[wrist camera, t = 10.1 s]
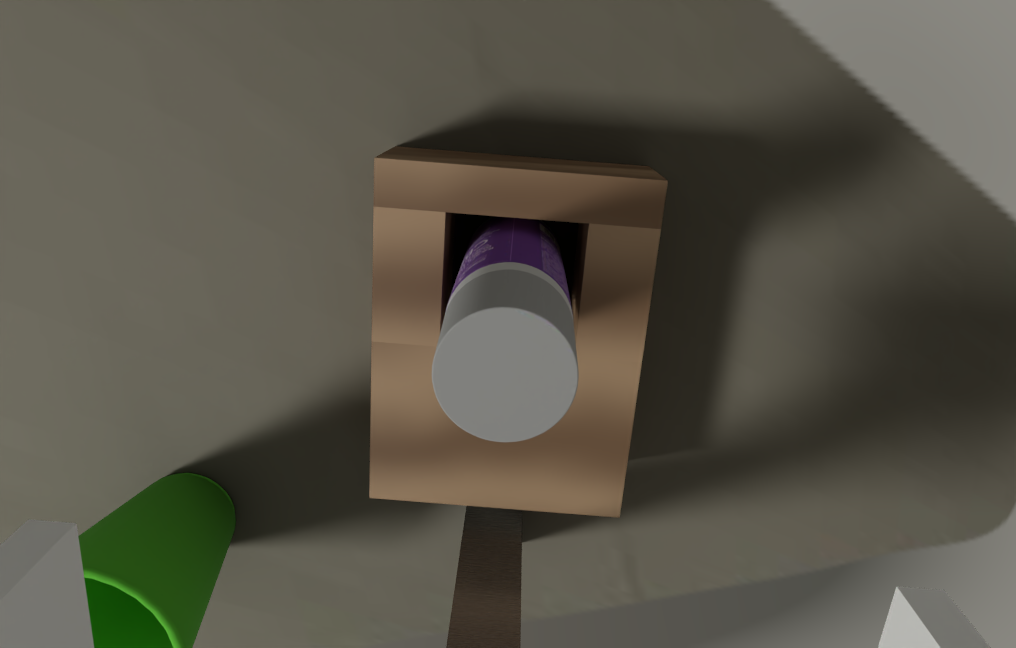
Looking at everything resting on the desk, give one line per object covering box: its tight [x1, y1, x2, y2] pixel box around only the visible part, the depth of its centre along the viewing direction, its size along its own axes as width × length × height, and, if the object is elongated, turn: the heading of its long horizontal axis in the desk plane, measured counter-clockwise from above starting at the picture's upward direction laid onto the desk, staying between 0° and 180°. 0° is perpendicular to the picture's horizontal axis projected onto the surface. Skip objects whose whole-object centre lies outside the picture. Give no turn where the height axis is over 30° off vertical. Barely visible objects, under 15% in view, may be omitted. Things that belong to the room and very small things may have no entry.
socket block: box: [369, 146, 668, 518], centre depth 35 cm, size 16×12×5 cm
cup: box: [78, 473, 236, 648], centre depth 36 cm, size 9×9×11 cm
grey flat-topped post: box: [446, 506, 522, 648], centre depth 30 cm, size 10×10×21 cm
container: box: [432, 216, 579, 442], centre depth 29 cm, size 5×5×15 cm
